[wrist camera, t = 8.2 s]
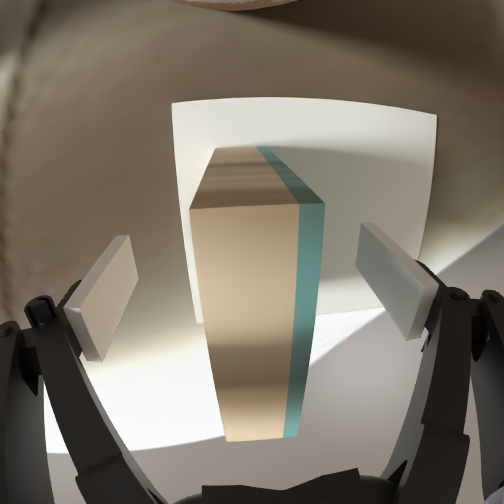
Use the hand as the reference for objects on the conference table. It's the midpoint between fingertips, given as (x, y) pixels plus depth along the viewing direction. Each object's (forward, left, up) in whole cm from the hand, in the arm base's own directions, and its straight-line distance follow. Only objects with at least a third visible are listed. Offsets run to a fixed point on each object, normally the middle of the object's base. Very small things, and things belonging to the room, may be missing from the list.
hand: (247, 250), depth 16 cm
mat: (0, +5, -5) cm, 7 cm away
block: (0, 0, -4) cm, 4 cm away
